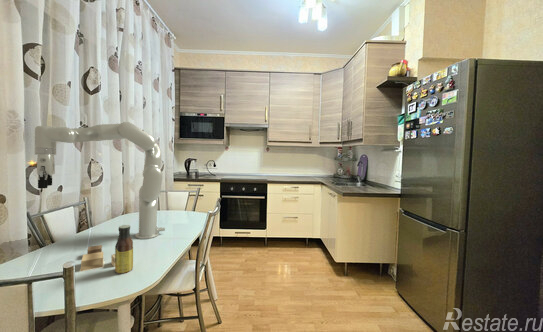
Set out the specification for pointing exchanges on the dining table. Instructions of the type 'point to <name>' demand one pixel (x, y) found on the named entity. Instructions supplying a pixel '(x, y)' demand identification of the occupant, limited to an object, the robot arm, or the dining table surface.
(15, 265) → the dining table surface
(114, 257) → the maple block
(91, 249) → the walnut cube
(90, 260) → the oak plinth
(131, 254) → the sauce bottle
